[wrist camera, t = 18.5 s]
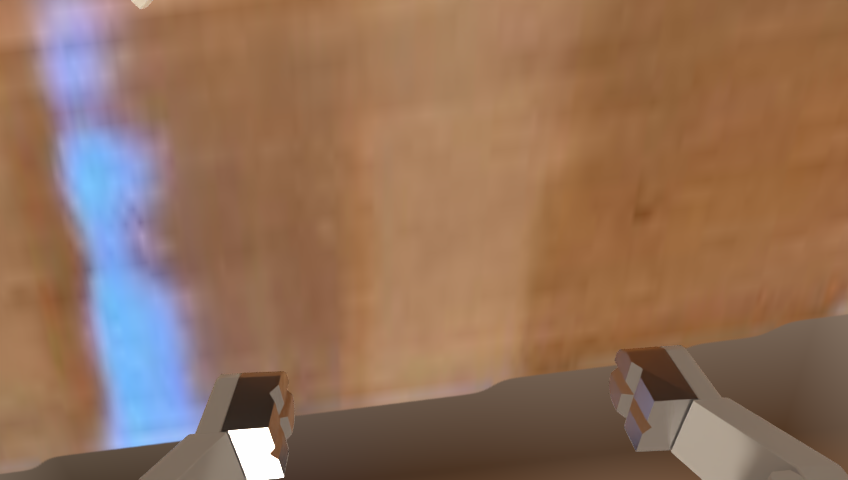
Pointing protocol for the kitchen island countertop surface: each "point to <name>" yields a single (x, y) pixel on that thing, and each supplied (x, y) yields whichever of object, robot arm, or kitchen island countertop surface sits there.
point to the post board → (142, 3)
